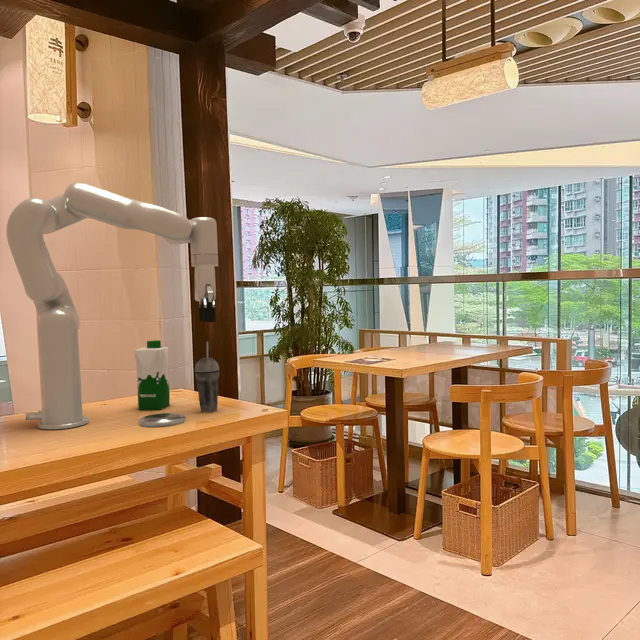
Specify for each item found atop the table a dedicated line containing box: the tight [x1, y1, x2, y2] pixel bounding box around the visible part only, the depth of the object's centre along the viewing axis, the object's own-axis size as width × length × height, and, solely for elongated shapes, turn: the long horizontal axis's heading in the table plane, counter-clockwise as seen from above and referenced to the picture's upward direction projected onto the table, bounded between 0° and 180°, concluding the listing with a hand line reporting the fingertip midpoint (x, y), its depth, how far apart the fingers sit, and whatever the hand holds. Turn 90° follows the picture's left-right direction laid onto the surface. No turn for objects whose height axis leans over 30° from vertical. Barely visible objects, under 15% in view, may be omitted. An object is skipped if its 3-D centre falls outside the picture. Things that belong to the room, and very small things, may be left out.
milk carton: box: [133, 339, 171, 411], centre depth 179 cm, size 9×9×20 cm
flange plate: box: [138, 412, 187, 428], centre depth 159 cm, size 12×12×1 cm
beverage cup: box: [194, 341, 221, 413], centre depth 171 cm, size 7×7×20 cm
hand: (207, 321), depth 171 cm, fingers open, 9 cm apart
